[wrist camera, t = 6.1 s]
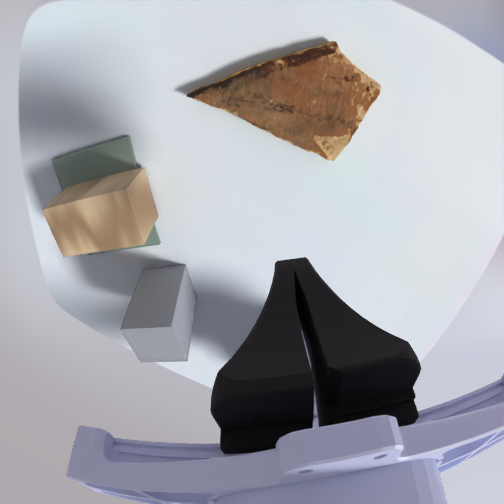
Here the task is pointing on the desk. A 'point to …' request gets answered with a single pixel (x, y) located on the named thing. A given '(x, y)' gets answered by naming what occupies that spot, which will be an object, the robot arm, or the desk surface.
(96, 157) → the mat
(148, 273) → the grey block
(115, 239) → the oak block
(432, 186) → the desk surface
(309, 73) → the shard
